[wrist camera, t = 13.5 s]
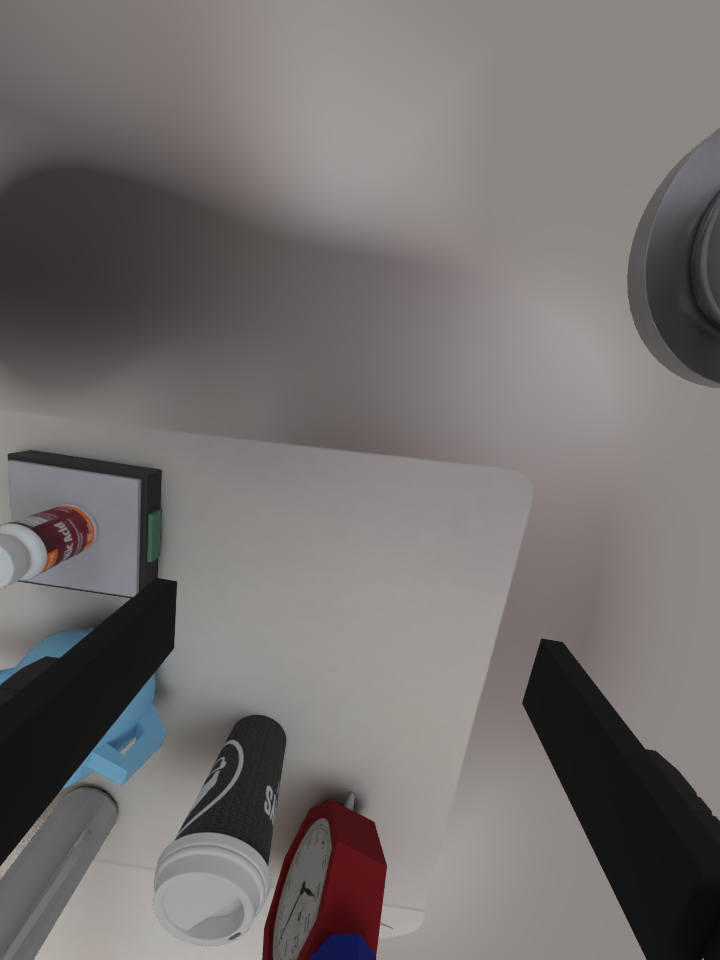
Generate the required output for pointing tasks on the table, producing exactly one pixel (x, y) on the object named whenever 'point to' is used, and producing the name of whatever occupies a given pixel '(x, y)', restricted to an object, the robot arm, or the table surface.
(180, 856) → the coffee cup
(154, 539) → the scale
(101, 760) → the teapot
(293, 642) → the table surface
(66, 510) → the pill bottle
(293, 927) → the alarm clock
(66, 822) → the water bottle
